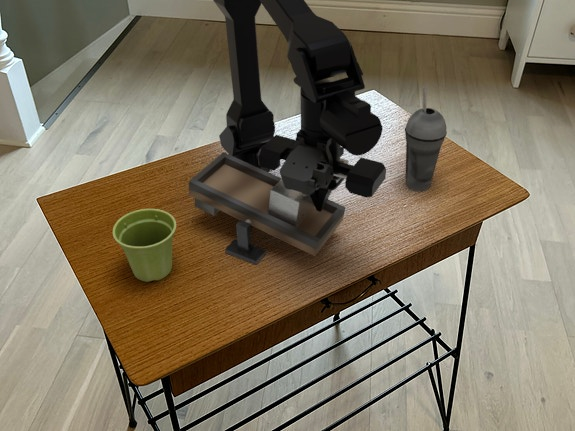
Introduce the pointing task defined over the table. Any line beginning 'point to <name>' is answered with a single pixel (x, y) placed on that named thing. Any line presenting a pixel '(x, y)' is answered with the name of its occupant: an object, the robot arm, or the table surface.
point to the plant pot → (147, 242)
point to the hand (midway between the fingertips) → (320, 209)
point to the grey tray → (259, 202)
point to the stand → (245, 245)
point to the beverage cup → (423, 145)
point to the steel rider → (289, 205)
